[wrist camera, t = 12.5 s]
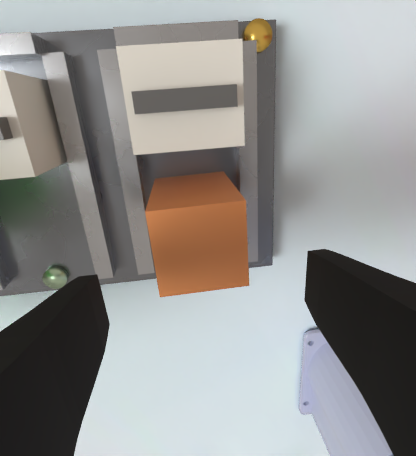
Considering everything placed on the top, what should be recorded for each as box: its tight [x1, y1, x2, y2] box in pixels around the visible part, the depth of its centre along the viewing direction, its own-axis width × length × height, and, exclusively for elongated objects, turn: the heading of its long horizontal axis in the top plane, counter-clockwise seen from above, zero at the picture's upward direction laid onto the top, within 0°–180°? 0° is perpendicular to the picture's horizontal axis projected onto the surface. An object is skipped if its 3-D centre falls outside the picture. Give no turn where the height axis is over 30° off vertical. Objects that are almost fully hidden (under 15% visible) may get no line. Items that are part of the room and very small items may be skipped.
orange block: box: [145, 171, 249, 297], centre depth 15 cm, size 4×4×6 cm
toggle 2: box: [116, 39, 245, 155], centre depth 13 cm, size 4×5×5 cm
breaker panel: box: [0, 18, 276, 296], centre depth 17 cm, size 14×18×3 cm
